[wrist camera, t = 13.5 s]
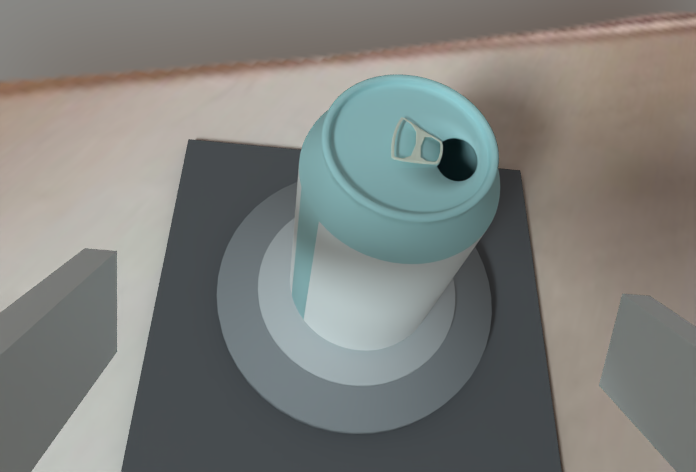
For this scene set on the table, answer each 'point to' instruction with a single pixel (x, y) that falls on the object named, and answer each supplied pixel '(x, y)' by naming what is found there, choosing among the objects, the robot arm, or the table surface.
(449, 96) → the can
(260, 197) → the flange station
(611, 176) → the table surface
